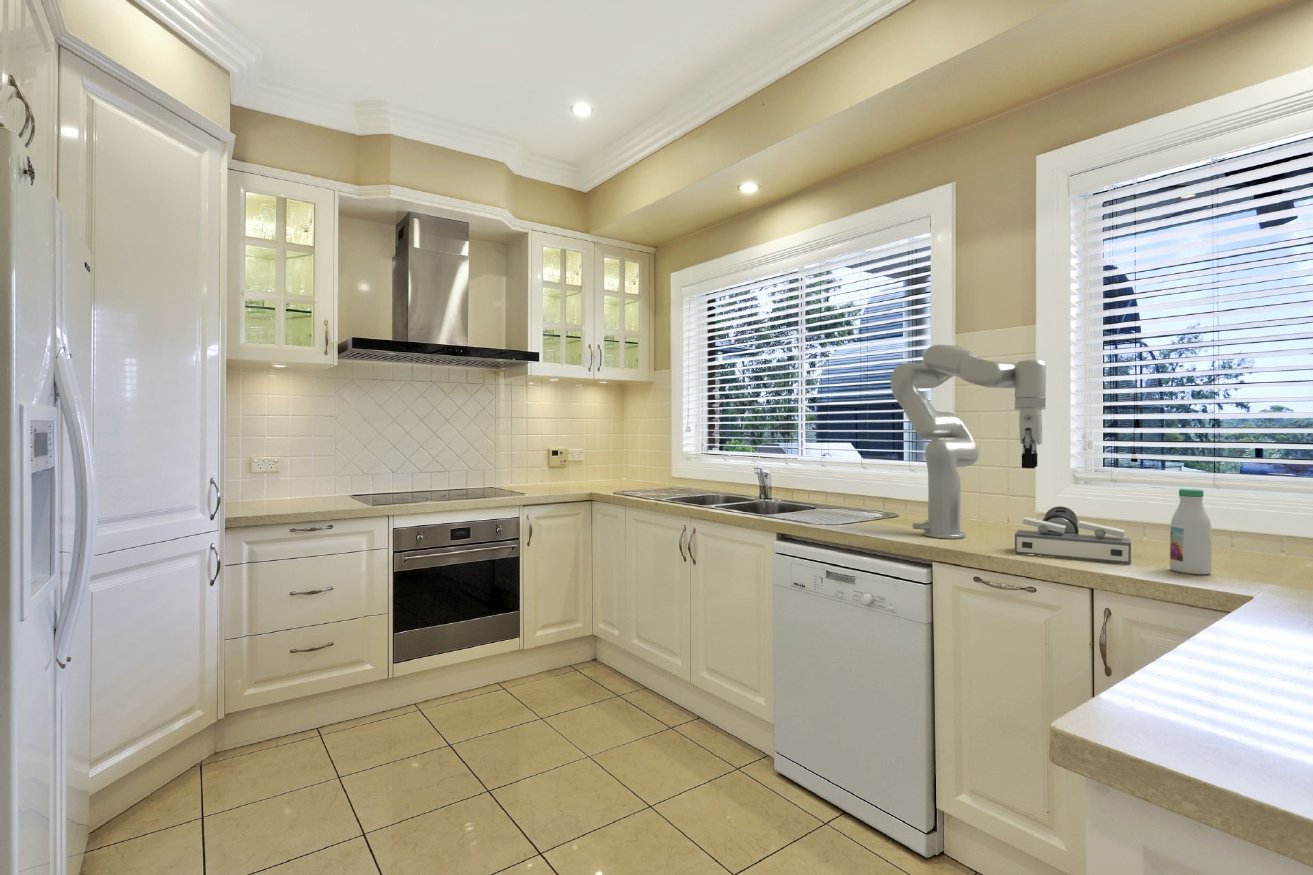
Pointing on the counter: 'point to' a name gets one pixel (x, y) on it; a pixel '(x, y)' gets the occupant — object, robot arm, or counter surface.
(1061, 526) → the switch
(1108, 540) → the switch box
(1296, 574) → the counter surface
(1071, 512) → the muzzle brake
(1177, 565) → the milk bottle
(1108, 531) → the switch
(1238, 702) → the counter surface
